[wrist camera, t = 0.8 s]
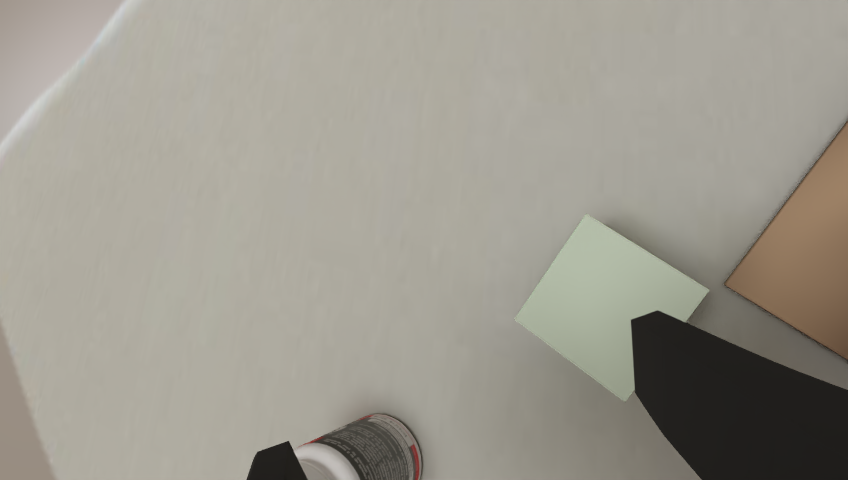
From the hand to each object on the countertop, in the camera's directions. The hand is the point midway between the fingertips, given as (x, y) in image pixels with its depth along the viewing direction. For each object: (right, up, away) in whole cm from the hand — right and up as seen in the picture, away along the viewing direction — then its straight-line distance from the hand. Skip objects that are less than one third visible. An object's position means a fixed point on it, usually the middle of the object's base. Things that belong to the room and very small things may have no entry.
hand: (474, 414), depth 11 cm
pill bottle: (-3, -8, +19) cm, 21 cm away
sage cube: (+8, +1, +14) cm, 16 cm away
